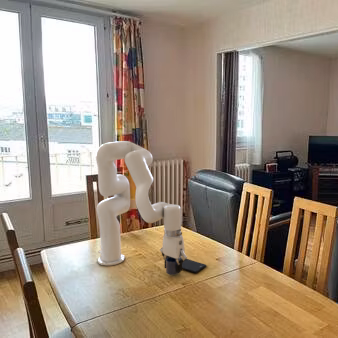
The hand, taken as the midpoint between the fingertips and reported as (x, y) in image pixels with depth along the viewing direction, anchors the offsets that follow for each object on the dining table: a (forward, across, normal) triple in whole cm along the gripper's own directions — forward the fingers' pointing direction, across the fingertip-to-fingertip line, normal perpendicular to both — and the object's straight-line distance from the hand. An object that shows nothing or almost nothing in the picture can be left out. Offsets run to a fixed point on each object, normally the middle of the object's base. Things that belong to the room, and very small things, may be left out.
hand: (173, 269), depth 150 cm
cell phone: (+2, +1, -10) cm, 10 cm away
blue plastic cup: (+1, 0, 0) cm, 1 cm away
